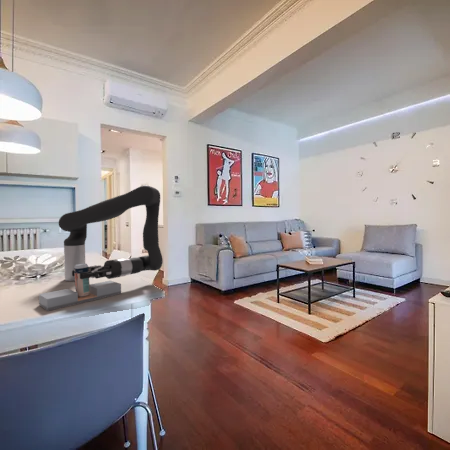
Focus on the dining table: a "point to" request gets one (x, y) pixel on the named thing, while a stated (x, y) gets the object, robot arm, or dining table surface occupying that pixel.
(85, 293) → the beer can
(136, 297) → the dining table surface
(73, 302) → the grey peach bar
